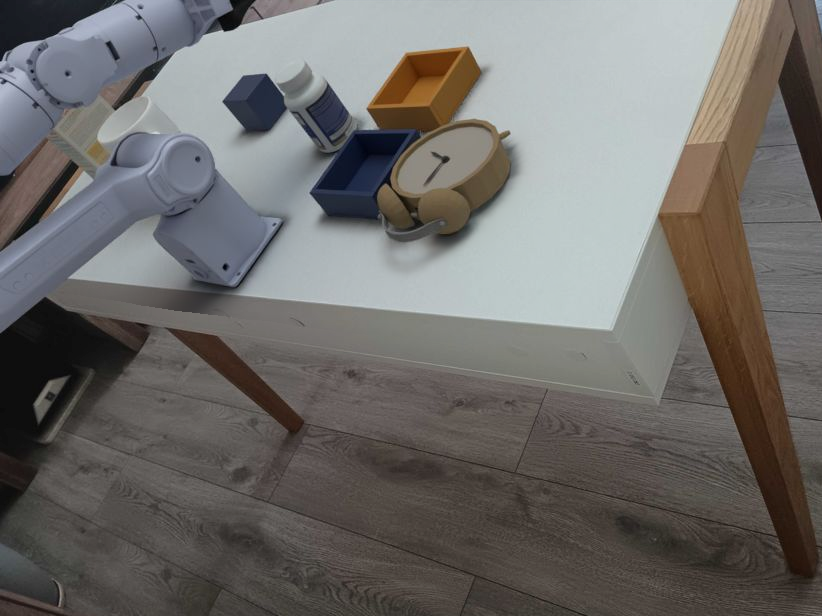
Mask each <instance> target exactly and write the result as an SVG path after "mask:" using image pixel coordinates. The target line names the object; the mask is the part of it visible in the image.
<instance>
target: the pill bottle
mask: <svg viewBox="0 0 822 616" xmlns="http://www.w3.org/2000/svg"><path fill="white" fill-rule="evenodd" d="M274 81H275V85H276V86H277V88H278V89H279V90H280V92H281V93H282V94H284V95H283V96H284V103H285V106H286V107H287V108H286V110H288V111H289V113H290V114H291V115H292V116H293V118H294V120H296V122H297V123H298V124H299V125H300V127H301V128H302V129H303V130H304V131H303V132H305V133H306V134H307V136H308V137H309V138H310V140H311V142H313V144H314V145H315V146H316V148H318V150H319V151H320V152H322V153H325V154H327V153H328V154H329V153H334V152H336V151H339V150H340V149H341V147H342V146H343V145H344V143H345V142H346V140H347V139H348V138H349V136H350V135H351V134H352V132H353V131H354V130H358V125H357V122H356V120H355V119H354V117H353V116H352V115H351V112H349V111H348V109H347V107H346V106H345V105H344V103H343V102H342V101H341V99H340V97H339V96H338V95H337V94H336V92H335V91H334V89H333V88H332V86H331V85H330V83H329V82H328V80H327V78H325V77H324V75H322V74H321V73H318V72H313V70H312V69H311V67H310V66H309V64H308V63H307V61H306V60H304V59H303V58H297V59H294V60H292V61H290V62H288V63H287V64H285V65H284V66H282V68H280V70H279V71H278V72H277V73H276V75H275V77H274Z"/></svg>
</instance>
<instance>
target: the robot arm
mask: <svg viewBox="0 0 822 616" xmlns="http://www.w3.org/2000/svg"><path fill="white" fill-rule="evenodd" d="M256 1H257V0H122V1H120V2H118V3H116V4H113V5H111V6H109V7H107V8H105V9H102V10H100V11H98V12H96V13H93V14H92V15H90V16H87V17H85V18H83V19H81V20H78V21H77V22H75V23H74V24H73V25H72V27H66V28H62V30H60V31H59V32H58V33H57V34H55V35H53V36H50V37H47V38H45V39H42V40H41V39H40V40H33V41H28V42H24V43H22V44H19V45H17V46H16V47H14V48H13V49H11V50H8V51H6V52H5V53H4V55H3V57H2V59H1V61H0V176H9V175H11V174H12V172H13V171H14V170H15V169H16V168H17V167H18V166H19V165H20V164H21V163H22V162H23V161H24V160H25V159H26V158H27V157H28V156H29V155H30V154H31V153H32V152H33V151H34V150H35V148H36V147H38V145H39V144H40V143H42V142H43V141H44V139H45V138H47V137H46V136H47V135H48V134H49V133H50V132H51V131H52V130H53V128H54V127H55V126H56V125H57V124H58V123H59V121H60V118H61V116H62V114H63V112H64V109H73V108H79V107H81V106H83V105H84V106H85V107H88V106H90V105H91V104H92V103H93V102H94V101H95V100H96V99H97V97H98V95H100V93H101V90H102V89H104V88H105V87H107V86H109V85H111V84H117V83H119V82H121V81H123V80H125V79H127V78H128V77H130V76H133V75H135V74H136V73H138V72H140V71H142V70H144V69H146V68H148V67H150V66H152V65H153V64H155V63H157V62H160V61H161V60H164V59H165V58H167V57H169V56H171V55H172V54H174V53H176V52H178V51H180V50H182V49H185V48H190V47H193V46H194V45H196V44H198V43H199V42H200V41H201V39H202V38H203V37H204V35H205V34H206V33H207V32H208V30H209V28H210V27H211V26H212V24H213V23H214V22H215V20H217V21H218V23H219V26H220V27H221V29H222V31H223V33H227V32H231V31H235V30H236V29H238V28H239V27H240V26H241V25H242V23H243V20H244V18H245V15H246V14H247V12H248V10H249V9H250V8H251V6H252V5H254V3H255V2H256ZM154 216H159V219H158V222H157V225H156V227H155V229H154V230H153V231H152V236H153V238H154V240H155V241H156V243H157V244H158V245H159V246H160V247H161V248H162V249H163V250H164V251H165V252H166V253H168V254H169V255H170V256H171V258H173V259H175V261H176V262H177V263H179V264H180V265H181V266H182V267H183V268H184V269H186V270H187V272H189V273H190V274H191V275H192V278H193V280H195V281H199V282H203V283H210V284H215V285H219V286H225V287H230V288H236V287H237V286H239V284H240V282H241V281H242V280H243V278H244V277H245V276H246V275H247V273H248V272H249V270H250V269H251V267H252V266H253V265H254V263H255V262H256V260H257V259H258V258H259V256H260V254H261V253H262V252H263V251H264V249H265V248H266V246H267V245H268V244H269V242H270V241H271V240H272V238H273V237H274V235H275V234H276V233H277V231H278V230H279V228H280V227H281V225H282V224H283V220H282V218H280V217H272V216H262V215H259V214H258V213H257V212H256V211H255V210H254V209H253V208H252V207H251V205H250V204H249V203H248V202H247V201H246V200H245V198H243V197H242V196H241V194H240V193H239V192H238V191H237V190H236V189H235V188H234V186H232V185H231V184H230V183H229V181H228V180H227V179H226V178H225V177H224V176H223V175H222V174H221V173H220V172H219V171H218V169H216V162H215V158H214V154H213V153H212V151H211V149H210V147H209V146H208V145H207V144H206V143H205V141H203V140H202V139H200V138H199V137H198V136H195V135H193V134H191V133H186V132H181V133H176V134H173V135H170V134H149V133H147V132H132V133H129V134H127V135H125V136H124V137H122V138H121V139H120V140H119V141H118V142H117V144H116V145H115V147H114V150H113V152H112V155H111V156H110V158H109V159H108V160H107V162H105V163H104V164H103V165H102V166H100V167H99V168H98V169H97V171H96V174H95V177H94V179H92V181H91V183H89V184H88V185H87V186H85V187H84V188H83V189H82V190H80V191H79V192H78V193H76V194H75V195H73V196H72V197H71V198H69V199H68V200H66V202H64V203H63V204H61V205H60V206H59V207H58V208H56V209H55V210H54V211H53V212H51V213H50V214H49V215H47V216H46V217H45V218H43V219H42V220H41V221H39V222H38V223H36V224H35V225H34V226H33V227H31V228H30V229H29V230H27V231H26V232H25V233H23V234H22V235H20V237H17V239H15V240H14V241H13V242H11V243H10V244H8V245H7V246H5V248H4V249H2V250H1V251H0V334H1V333H3V332H4V331H5V330H7V329H8V328H9V327H10V326H11V325H13V324H14V323H15V322H16V321H18V319H20V318H21V317H22V316H24V315H25V314H26V313H27V312H28V311H30V310H31V309H32V308H33V307H35V305H37V304H38V303H40V302H41V301H42V300H43V299H44V298H46V297H47V296H48V295H49V294H50V293H52V292H53V291H54V290H55V289H56V288H58V287H60V285H61V284H63V283H64V282H65V281H67V280H68V278H70V277H71V276H73V275H74V274H75V273H76V272H77V271H78V270H80V269H81V268H82V267H84V266H85V265H86V264H87V263H88V262H90V261H91V260H92V259H93V258H95V257H96V256H97V255H99V254H100V252H102V251H103V250H105V249H106V248H107V247H108V246H109V245H110V244H112V243H113V242H114V241H115V240H116V239H118V238H119V237H120V236H121V235H123V234H124V233H125V232H126V231H128V230H129V229H130V228H131V227H132V226H134V225H135V224H137V222H140V221H141V220H142V221H143V220H144V219H145V220H146V219H148V218H151V217H154Z"/></svg>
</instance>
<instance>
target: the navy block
mask: <svg viewBox="0 0 822 616" xmlns="http://www.w3.org/2000/svg"><path fill="white" fill-rule="evenodd" d="M283 94H284V93H283V92H282V91H281V90H280V88H279V87H278V86H277V84H276V83H274V81H273V80H272V79H271V77H270V76H269V74H268V73H256V74H246V75H245V74H244V75H242V76H241V77H240V79H239V80H238V81H237V83H236V84H235V85H234V86H233V87H232V88H231V90H230V91H229V92H228V94H226V96H225V97H224V99H222V101H221V102H222V104H223V105H224V106H225V107H226V108H227V109H228V111H229V112H230V113H231V114H232V115H233V117H234V118H235V119H236V120H237V121H238V123H239V124H240V125H241V126H242V127H243V128H244V130H245V131H246V132H247V131H248V132H249V131H250V132H251V131H252V132H253V131H270V130H271V129H272V128H273V126H274V125H275V124H276V122H277V121H278V120H279V118H280V117H281V116H282V115H283V113H284V112H285V111H286V110H287V107H286V106H285V103H284V96H285V95H283Z"/></svg>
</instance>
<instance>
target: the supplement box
mask: <svg viewBox="0 0 822 616" xmlns="http://www.w3.org/2000/svg"><path fill="white" fill-rule="evenodd" d="M115 111H116V110H115V108H113V107H112V106H111V104H109V103H108V102H107V101H106V100H105V99H104V97H102V96H101V95H100V94H99V95H98V97H97V99H96V100H95V101H94V102H93V103H92V104H91V105H90V106H88V107H85V106H84V105H83V106H81V107H79V108H73V109H64V112H63V114H62V116H61V118H60V121H59V123H58V124H57V125H56V126H55V127H54V128H53V130H52V131H51V132H50V133H49V134H48V135H47V136H46V137H45V138H46V139H47V140H48V141H50V142H51V143H52V144H53V145H54V146H55V147H56V148H58V150H60V151H61V152H62V153H63V154H64V155H66V156H67V158H69V159H70V160H71V161H72V162H73V163H74V164H75V165H76V166H78V168H80V169H81V170H82V171H83V172H84V173H86V174H87V175H88V176H89V177H90V178H91V179H92V180H94V177H95V174H96V171H97V169H98V168H99V167H100V166H102V165H103V164H104V163H105V162H107V160H108V159H109V158H110V156H111V154H110V153H108V152H107V151H106V150H105V149H104V148H103V147H102V146H101V144H100V143H99V142H98V139H97V136H98V132H99V130H100V128H101V127H102V125H103V124H104V123H105V121H106V120H107V119H108V118H109V117H110V116H111V115H112V114H113V113H114V112H115Z"/></svg>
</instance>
